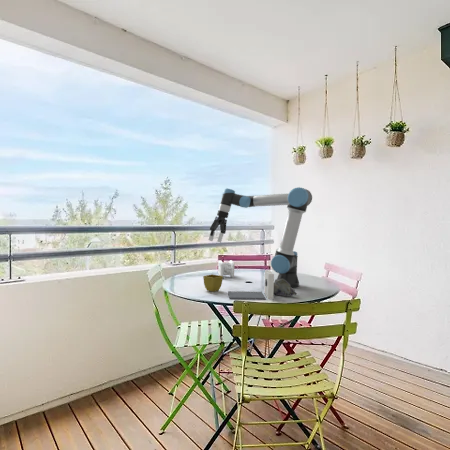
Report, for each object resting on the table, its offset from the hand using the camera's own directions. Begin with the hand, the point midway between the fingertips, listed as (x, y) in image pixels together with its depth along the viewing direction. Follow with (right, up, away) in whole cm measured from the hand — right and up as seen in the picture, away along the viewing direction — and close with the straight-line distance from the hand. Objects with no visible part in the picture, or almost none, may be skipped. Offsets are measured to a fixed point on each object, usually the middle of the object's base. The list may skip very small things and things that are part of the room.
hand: (214, 241), depth 225 cm
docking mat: (+19, -30, -34) cm, 49 cm away
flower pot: (0, -29, -23) cm, 37 cm away
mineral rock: (+41, -30, -31) cm, 60 cm away
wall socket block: (+32, -30, -34) cm, 55 cm away
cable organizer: (+7, -27, +20) cm, 35 cm away
